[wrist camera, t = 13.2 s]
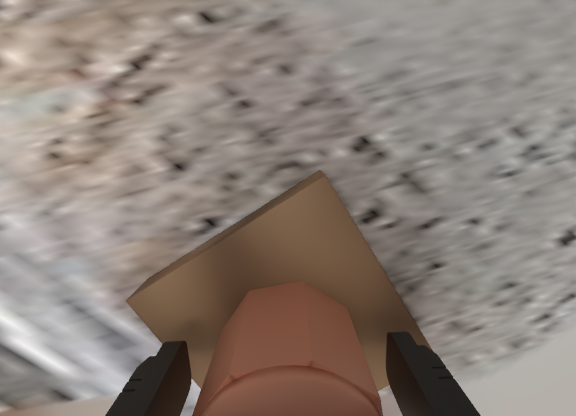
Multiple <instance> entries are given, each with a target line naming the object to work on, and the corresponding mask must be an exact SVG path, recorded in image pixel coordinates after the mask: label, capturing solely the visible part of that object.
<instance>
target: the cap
mask: <svg viewBox="0 0 576 416" xmlns="http://www.w3.org/2000/svg"><path fill="white" fill-rule="evenodd" d="M192 416H383V414H382V407H381V400H380V396H379V394H378V391H377V388H376V386H375V383H374V380H373V377H372V375H371V372H370V369H369V367H368V364H367V361H366V358H365V356H364V353H363V350H362V348H361V345H360V342H359V339H358V337H357V334H356V331H355V328H354V326H353V323H352V320H351V318H350V315H349V312H348V309H347V308H346V307H345V306H343V305H342V304H340V303H338V302H337V301H335V300H333V299H332V298H330V297H329V296H327V295H325V294H324V293H322V292H320V291H319V290H317V289H315V288H314V287H312V286H311V285H309V284H307V283H306V282H304V281H298V282H293V283H288V284H282V285H277V286H272V287H266V288H261V289H255V290H250V291H249V292H248V293H247V295H246V296H245V298H244V299H243V300H242V302H241V303H240V305H239V306H238V308H237V309H236V310H235V312H234V313H233V315H232V316H231V318H230V319H229V320H228V322H227V323H226V325H225V326H224V328H223V329H222V330H221V333H220V336H219V339H218V342H217V345H216V348H215V351H214V354H213V357H212V360H211V363H210V365H209V368H208V371H207V374H206V377H205V380H204V383H203V386H202V389H201V392H200V395H199V398H198V401H197V403H196V406H195V409H194V412H193V415H192Z"/></svg>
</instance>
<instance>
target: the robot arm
mask: <svg viewBox="0 0 576 416" xmlns="http://www.w3.org/2000/svg"><path fill="white" fill-rule="evenodd" d="M386 374H387V378H388V382H389V385H390V387H391V389H392V392H393V394H394V396H395V399H396V401H397V403H398V406H399V408H400V410H401V413H402V415H403V416H480V414H479V413H478V412H477V410H476V409H475V407H474V406H473V404H472V403H471V401H470V400H469V399H468V397H467V396H466V395H465V393H464V392H463V390H462V389H461V387H460V386H459V385H458V383H457V382H456V380H455V379H453V376H452V375H451V373H450V372H449V371H448V369H446V366H445V365H444V364H443V362H442V361H441V359H440V358H439V357H438V355H437V354H436V353H434V352H433V351H432V350H430V349H429V348H428V347H427V346H425V345H417V344H416V342H415V341H414V339H413V338H412V336H411V334H410V333H409V332H407V331H405V332H388V333H387V343H386ZM190 386H191V367H190V360H189V353H188V347H187V343H186V341H166V342H164V344H163V345H162V347H161V348H160V350H159V352H158V353H157V355H156V356H150V357H149V358H147V359H146V360H145V361H144V362H143V363H142V364H140V365H139V366H138V367H137V368H136V370H135V371H134V373H133V374H132V376H131V378H130V379H129V382H127V384H126V385H125V387H124V388H123V390H122V392H121V393H120V394H119V396H118V397H117V399H116V400H115V402H114V403H113V405H112V406H111V408H110V409H109V411H108V412H107V414H106V416H180V414H181V412H182V409H183V406H184V404H185V401H186V399H187V396H188V393H189V390H190Z"/></svg>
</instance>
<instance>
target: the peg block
mask: <svg viewBox="0 0 576 416" xmlns="http://www.w3.org/2000/svg"><path fill="white" fill-rule="evenodd" d="M298 281H304V282H306V283H307V284H309V285H311V286H312V287H314V288H315V289H317V290H319V291H320V292H322V293H324V294H325V295H327V296H329V297H330V298H332V299H333V300H335V301H337V302H338V303H340V304H342V305H343V306H345V307H346V308H347V309H348V312H349V315H350V318H351V320H352V323H353V326H354V328H355V331H356V334H357V337H358V339H359V342H360V345H361V348H362V350H363V353H364V356H365V358H366V361H367V364H368V367H369V369H370V372H371V375H372V377H373V380H374V383H375V386H376V388H377V391H379V390H381V389H382V388H384V387H386V386H388V385H389V382H388V378H387V374H386V343H387V333H388V332H405V331H407V332H409V333H410V334H411V336H412V338H413V339H414V341H415V342H416V344H417V345H425V346H427V347H428V348H429V349H430V350H432V349H431V347H430V346H429V344H428V342H427V341H426V339H425V337H424V336H423V334H422V332H421V331H420V329H419V328H418V326H417V324H416V323H415V321H414V319H413V318H412V316H411V314H410V313H409V311H408V309H407V308H406V306H405V305H404V303H403V301H402V300H401V298H400V296H399V295H398V293H397V291H396V290H395V288H394V287H393V285H392V283H391V282H390V280H389V278H388V277H387V275H386V273H385V272H384V270H383V268H382V267H381V265H380V264H379V262H378V260H377V259H376V257H375V255H374V254H373V252H372V250H371V249H370V247H369V246H368V244H367V242H366V241H365V239H364V237H363V236H362V234H361V232H360V231H359V229H358V227H357V226H356V224H355V223H354V221H353V219H352V218H351V216H350V214H349V213H348V211H347V209H346V208H345V206H344V205H343V203H342V201H341V200H340V198H339V196H338V195H337V193H336V191H335V190H334V188H333V186H332V185H331V183H330V182H329V180H328V178H327V177H326V175H325V174H324V173H322V172H321V171H320V170H319V171H318V172H316V173H315V174H313V175H311V176H310V177H308V178H307V179H305V180H303V181H302V182H300V183H299V184H297V185H296V186H294V187H292V188H291V189H289V190H288V191H286V192H285V193H283V194H281V195H280V196H278V197H277V198H275V199H273V200H272V201H270V202H269V203H267V204H266V205H264V206H262V207H261V208H259V209H258V210H256V211H255V212H253V213H251V214H250V215H248V216H247V217H245V218H243V219H242V220H240V221H239V222H237V223H236V224H234V225H232V226H231V227H229V228H228V229H226V230H225V231H223V232H221V233H220V234H218V235H217V236H215V237H214V238H212V239H210V240H209V241H207V242H206V243H204V244H202V245H201V246H199V247H198V248H196V249H195V250H193V251H191V252H190V253H188V254H187V255H185V256H184V257H182V258H180V259H179V260H177V261H176V262H174V263H172V264H171V265H169V266H168V267H166V268H165V269H163V270H161V271H160V272H158V273H157V274H155V275H154V276H152V277H150V278H149V279H147V280H146V281H145V282H144V283H143V284H142V285H141V286H140V287H139V288H138V289H137V290H136V291H135V292H134V293H133V294H132V295H131V296H130V297H129V298H128V299H127V300H126V302H127V303H128V304H129V305H130V307H131V308H132V309H133V310H134V311H135V312H136V314H137V315H138V316H139V317H140V318H141V319H142V321H143V322H144V323H145V324H146V325H147V326H148V328H149V329H150V330H151V331H152V332H153V333H154V335H155V336H156V337H157V338H158V339H159V340H160V342H161V343H162V344H164V342H166V341H186V343H187V347H188V353H189V360H190V367H191V378H192V379H193V380H194V381H195V382H196V384H197V385H198V386H199V387H200V388H201V389H202V386H203V383H204V380H205V377H206V374H207V371H208V368H209V365H210V363H211V360H212V357H213V354H214V351H215V348H216V345H217V342H218V339H219V336H220V333H221V330H222V329H223V328H224V326H225V325H226V323H227V322H228V320H229V319H230V318H231V316H232V315H233V313H234V312H235V310H236V309H237V308H238V306H239V305H240V303H241V302H242V300H243V299H244V298H245V296H246V295H247V293H248V292H249V291H250V290H255V289H261V288H266V287H272V286H277V285H282V284H288V283H293V282H298ZM432 351H433V350H432Z"/></svg>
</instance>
